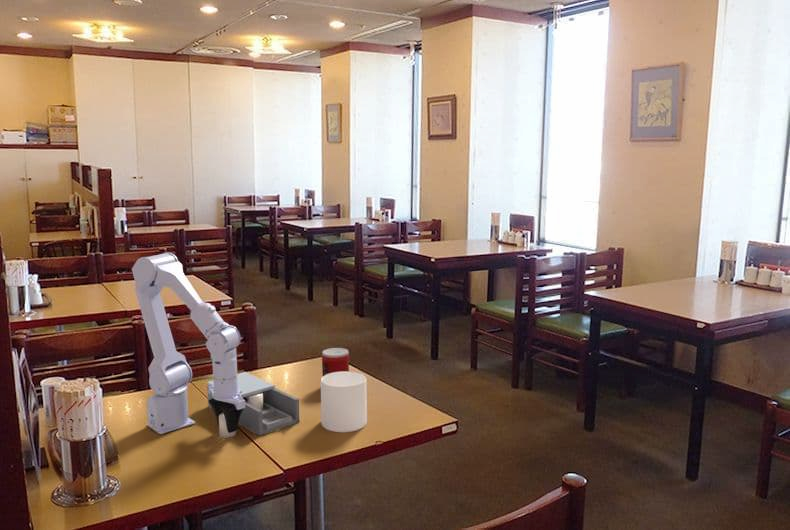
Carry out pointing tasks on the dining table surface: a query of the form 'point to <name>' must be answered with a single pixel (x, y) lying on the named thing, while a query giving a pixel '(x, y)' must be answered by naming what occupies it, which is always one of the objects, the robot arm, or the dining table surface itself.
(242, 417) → the housing
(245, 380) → the lid
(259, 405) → the white rounded tapered block
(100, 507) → the dining table surface
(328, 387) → the white cylinder
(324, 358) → the canned food
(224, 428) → the white rounded cylinder
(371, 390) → the dining table surface
